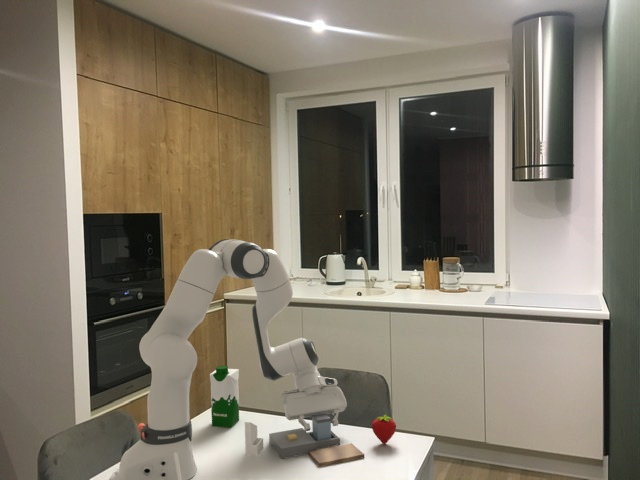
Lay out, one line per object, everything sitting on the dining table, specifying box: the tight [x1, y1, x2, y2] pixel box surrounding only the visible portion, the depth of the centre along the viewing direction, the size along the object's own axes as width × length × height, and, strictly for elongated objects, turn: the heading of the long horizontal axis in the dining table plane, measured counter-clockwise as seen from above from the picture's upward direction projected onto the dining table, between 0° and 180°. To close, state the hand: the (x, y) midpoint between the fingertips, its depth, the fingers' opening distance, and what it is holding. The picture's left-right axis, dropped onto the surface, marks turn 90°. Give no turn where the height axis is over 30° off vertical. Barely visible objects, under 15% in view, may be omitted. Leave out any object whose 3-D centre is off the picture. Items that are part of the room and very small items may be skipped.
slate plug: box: [311, 414, 332, 441], centre depth 167 cm, size 4×4×8 cm
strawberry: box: [371, 413, 397, 445], centre depth 165 cm, size 6×8×10 cm
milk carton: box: [209, 365, 240, 429], centre depth 183 cm, size 9×9×20 cm
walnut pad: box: [308, 442, 365, 467], centre depth 157 cm, size 14×8×1 cm, turn 112°
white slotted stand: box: [244, 421, 264, 457], centre depth 160 cm, size 4×10×9 cm, turn 168°
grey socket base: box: [268, 427, 341, 460], centre depth 165 cm, size 19×12×4 cm, turn 112°
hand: (322, 427), depth 167 cm, fingers open, 8 cm apart
